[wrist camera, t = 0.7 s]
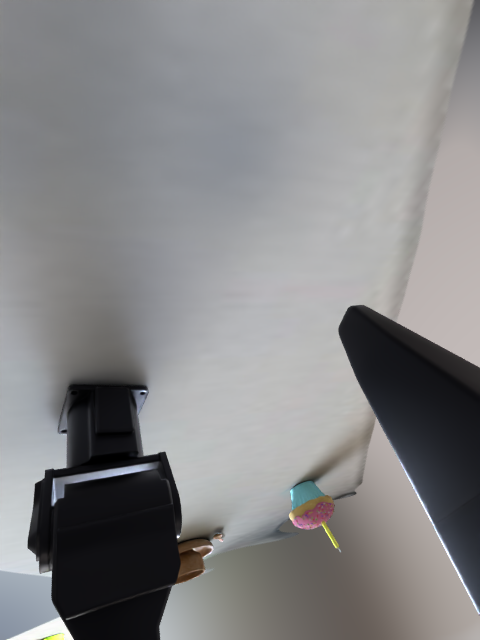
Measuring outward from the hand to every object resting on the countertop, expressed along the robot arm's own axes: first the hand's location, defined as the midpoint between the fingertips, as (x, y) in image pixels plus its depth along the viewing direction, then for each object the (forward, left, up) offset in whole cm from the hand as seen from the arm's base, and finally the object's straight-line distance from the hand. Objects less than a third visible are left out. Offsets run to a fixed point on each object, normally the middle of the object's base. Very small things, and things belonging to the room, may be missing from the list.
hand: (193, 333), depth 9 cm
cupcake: (-49, -45, -14) cm, 68 cm away
